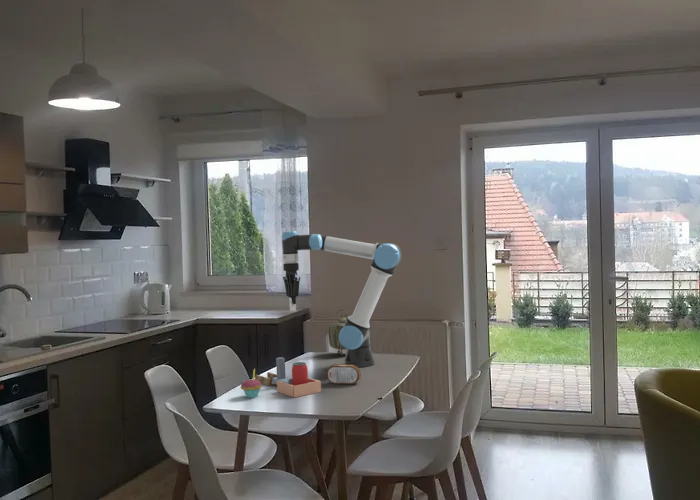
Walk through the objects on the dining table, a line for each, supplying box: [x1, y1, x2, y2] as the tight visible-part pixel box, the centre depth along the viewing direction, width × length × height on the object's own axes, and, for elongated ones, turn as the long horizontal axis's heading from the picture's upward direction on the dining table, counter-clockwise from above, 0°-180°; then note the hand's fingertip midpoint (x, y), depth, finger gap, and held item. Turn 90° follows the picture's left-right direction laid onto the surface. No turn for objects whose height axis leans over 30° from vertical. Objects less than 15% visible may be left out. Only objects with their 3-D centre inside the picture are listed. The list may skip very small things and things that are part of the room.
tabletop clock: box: [328, 308, 348, 356], centre depth 349 cm, size 14×9×25 cm, turn 52°
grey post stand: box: [272, 357, 292, 386], centre depth 276 cm, size 16×6×12 cm, turn 36°
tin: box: [326, 363, 362, 385], centre depth 279 cm, size 15×3×8 cm, turn 74°
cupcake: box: [240, 367, 263, 399], centre depth 263 cm, size 9×8×12 cm
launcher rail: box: [254, 372, 277, 387], centre depth 288 cm, size 14×7×3 cm, turn 36°
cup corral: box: [276, 377, 322, 398], centre depth 268 cm, size 14×13×4 cm
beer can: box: [291, 361, 309, 386], centre depth 267 cm, size 7×7×12 cm
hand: (293, 310), depth 313 cm, fingers closed
